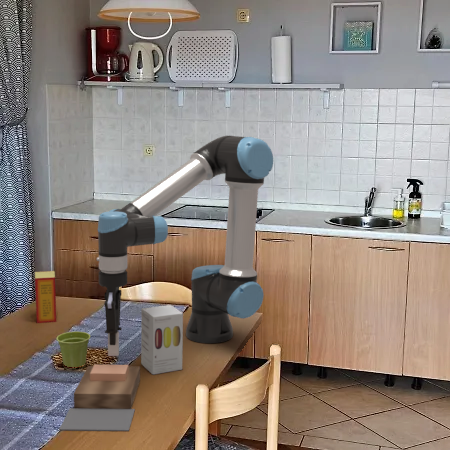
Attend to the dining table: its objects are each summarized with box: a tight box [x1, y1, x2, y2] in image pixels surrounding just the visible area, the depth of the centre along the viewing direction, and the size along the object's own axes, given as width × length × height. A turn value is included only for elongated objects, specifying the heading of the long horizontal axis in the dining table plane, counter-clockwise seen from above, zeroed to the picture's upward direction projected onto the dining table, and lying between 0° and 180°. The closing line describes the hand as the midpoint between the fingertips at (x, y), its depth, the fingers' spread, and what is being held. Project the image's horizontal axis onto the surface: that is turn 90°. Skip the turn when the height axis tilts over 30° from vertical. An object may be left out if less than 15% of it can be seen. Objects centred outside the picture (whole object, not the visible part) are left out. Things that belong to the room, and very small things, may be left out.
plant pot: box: [56, 331, 91, 367], centre depth 198 cm, size 9×9×9 cm
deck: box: [73, 365, 141, 409], centre depth 179 cm, size 14×18×4 cm
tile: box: [90, 364, 129, 381], centre depth 181 cm, size 9×6×2 cm, turn 90°
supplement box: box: [140, 304, 184, 375], centre depth 197 cm, size 10×9×17 cm
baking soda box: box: [34, 270, 57, 324], centre depth 239 cm, size 10×6×16 cm
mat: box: [59, 407, 136, 432], centre depth 165 cm, size 16×11×1 cm
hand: (113, 354), depth 188 cm, fingers closed
